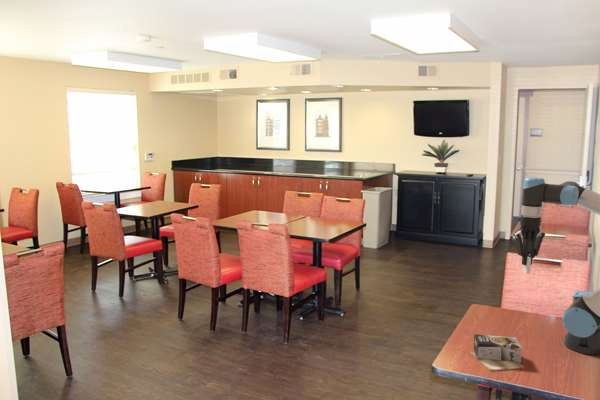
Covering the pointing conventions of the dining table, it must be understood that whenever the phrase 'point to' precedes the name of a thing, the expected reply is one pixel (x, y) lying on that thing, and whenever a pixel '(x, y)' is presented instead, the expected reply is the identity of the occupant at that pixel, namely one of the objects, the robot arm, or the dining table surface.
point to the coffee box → (497, 348)
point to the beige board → (497, 364)
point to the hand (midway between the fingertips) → (526, 272)
